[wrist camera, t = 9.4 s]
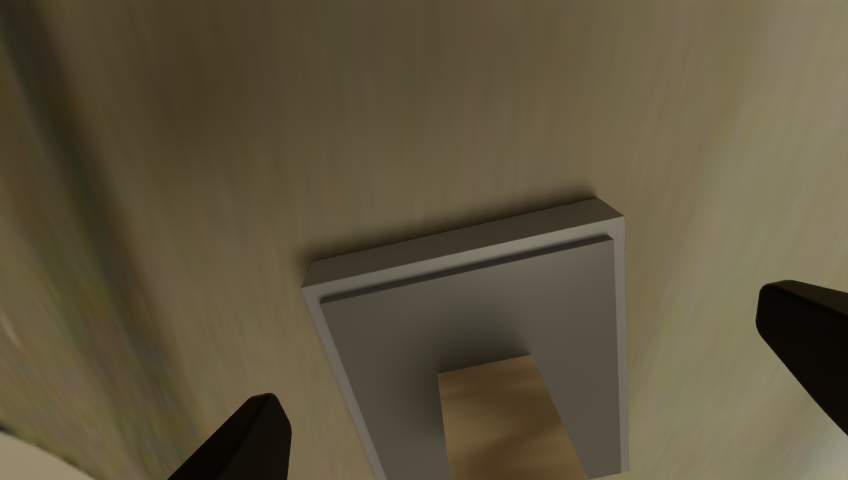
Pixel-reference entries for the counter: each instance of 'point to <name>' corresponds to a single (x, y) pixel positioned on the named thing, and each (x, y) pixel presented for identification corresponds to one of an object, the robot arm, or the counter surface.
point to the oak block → (504, 424)
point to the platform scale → (480, 330)
